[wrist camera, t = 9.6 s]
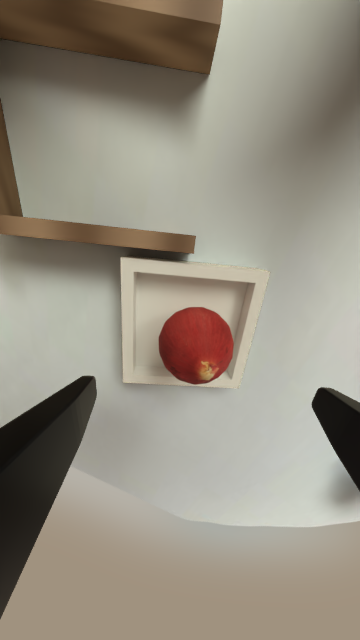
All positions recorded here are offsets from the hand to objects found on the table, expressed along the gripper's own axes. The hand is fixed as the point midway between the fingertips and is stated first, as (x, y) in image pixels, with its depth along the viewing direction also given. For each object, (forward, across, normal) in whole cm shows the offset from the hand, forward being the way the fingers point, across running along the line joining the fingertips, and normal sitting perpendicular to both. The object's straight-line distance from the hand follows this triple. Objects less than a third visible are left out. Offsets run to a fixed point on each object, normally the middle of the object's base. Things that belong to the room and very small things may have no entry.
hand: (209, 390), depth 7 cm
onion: (+11, 0, +2) cm, 11 cm away
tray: (+12, 0, +2) cm, 12 cm away
